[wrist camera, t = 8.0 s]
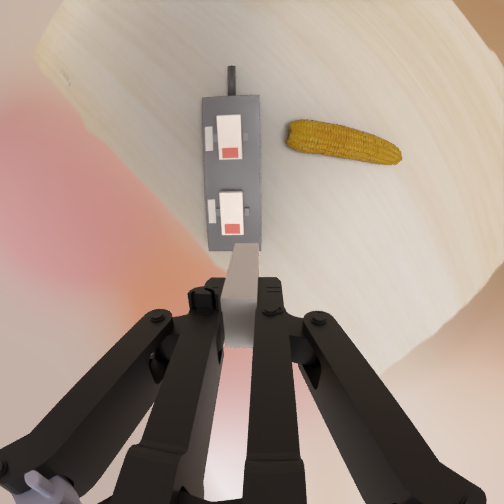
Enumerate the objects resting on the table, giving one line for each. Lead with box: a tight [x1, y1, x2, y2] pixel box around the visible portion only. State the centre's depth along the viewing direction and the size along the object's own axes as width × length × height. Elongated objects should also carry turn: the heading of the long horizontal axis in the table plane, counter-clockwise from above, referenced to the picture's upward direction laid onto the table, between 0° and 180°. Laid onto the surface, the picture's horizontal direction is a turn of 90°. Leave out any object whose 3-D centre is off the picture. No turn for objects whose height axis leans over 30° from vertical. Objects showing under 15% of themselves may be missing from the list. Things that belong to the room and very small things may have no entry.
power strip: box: [202, 66, 261, 251], centre depth 42 cm, size 32×9×5 cm, turn 1°
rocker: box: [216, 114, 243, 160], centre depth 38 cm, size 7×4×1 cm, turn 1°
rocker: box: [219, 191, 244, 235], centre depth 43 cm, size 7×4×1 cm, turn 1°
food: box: [286, 120, 402, 165], centre depth 40 cm, size 21×6×6 cm, turn 86°
